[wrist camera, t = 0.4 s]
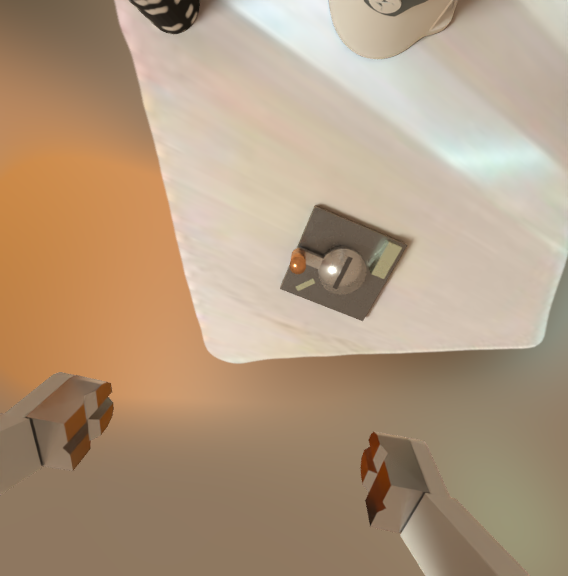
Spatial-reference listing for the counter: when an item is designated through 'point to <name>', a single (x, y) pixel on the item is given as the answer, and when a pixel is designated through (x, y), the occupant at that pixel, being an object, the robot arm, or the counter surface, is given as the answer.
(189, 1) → the spotted tube
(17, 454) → the robot arm
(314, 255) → the copper silver knob
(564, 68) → the counter surface
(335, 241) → the plate
